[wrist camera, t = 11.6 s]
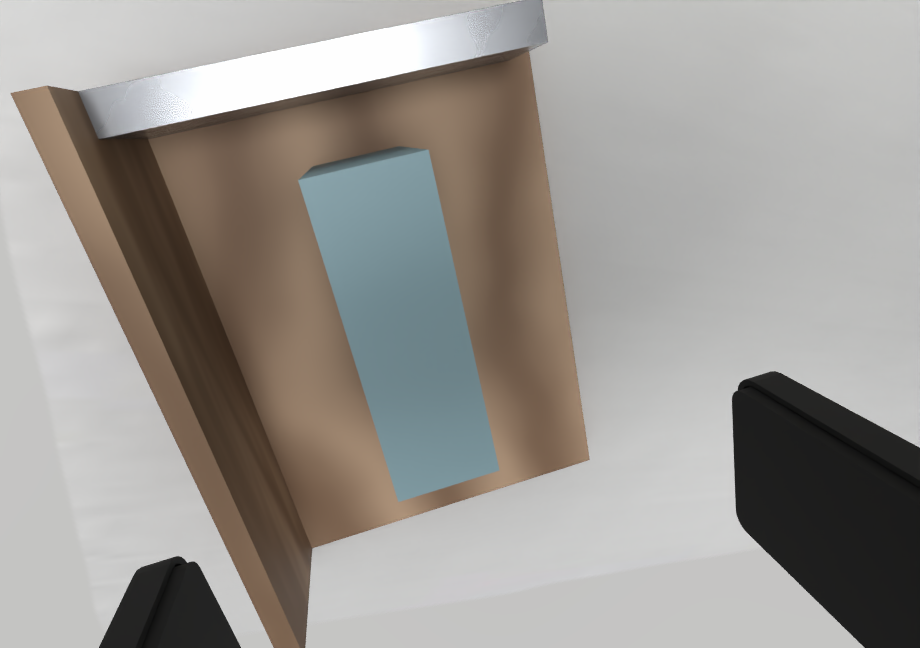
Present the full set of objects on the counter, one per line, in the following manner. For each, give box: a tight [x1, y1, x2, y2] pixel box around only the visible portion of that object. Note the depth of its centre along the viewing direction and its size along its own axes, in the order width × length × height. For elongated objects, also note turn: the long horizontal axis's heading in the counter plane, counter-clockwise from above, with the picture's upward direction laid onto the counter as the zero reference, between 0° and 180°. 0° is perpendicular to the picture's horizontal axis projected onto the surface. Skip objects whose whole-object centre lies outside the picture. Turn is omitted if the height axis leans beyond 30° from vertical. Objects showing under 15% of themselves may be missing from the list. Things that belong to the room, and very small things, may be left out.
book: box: [298, 146, 499, 502], centre depth 23 cm, size 4×12×9 cm, turn 13°
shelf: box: [11, 0, 590, 648], centre depth 25 cm, size 18×24×8 cm
